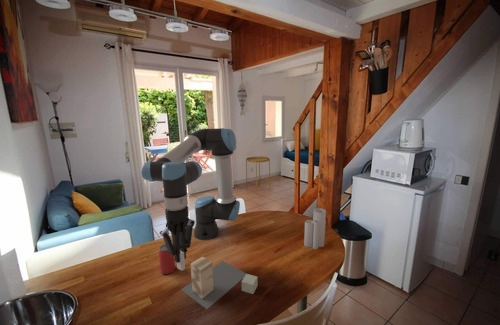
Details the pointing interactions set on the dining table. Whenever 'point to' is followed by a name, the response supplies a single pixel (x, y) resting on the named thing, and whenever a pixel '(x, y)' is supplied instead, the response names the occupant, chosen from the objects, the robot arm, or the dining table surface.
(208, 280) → the beech block
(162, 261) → the beer can
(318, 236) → the vase
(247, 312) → the dining table surface
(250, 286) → the sage cube
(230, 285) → the rubber mat
